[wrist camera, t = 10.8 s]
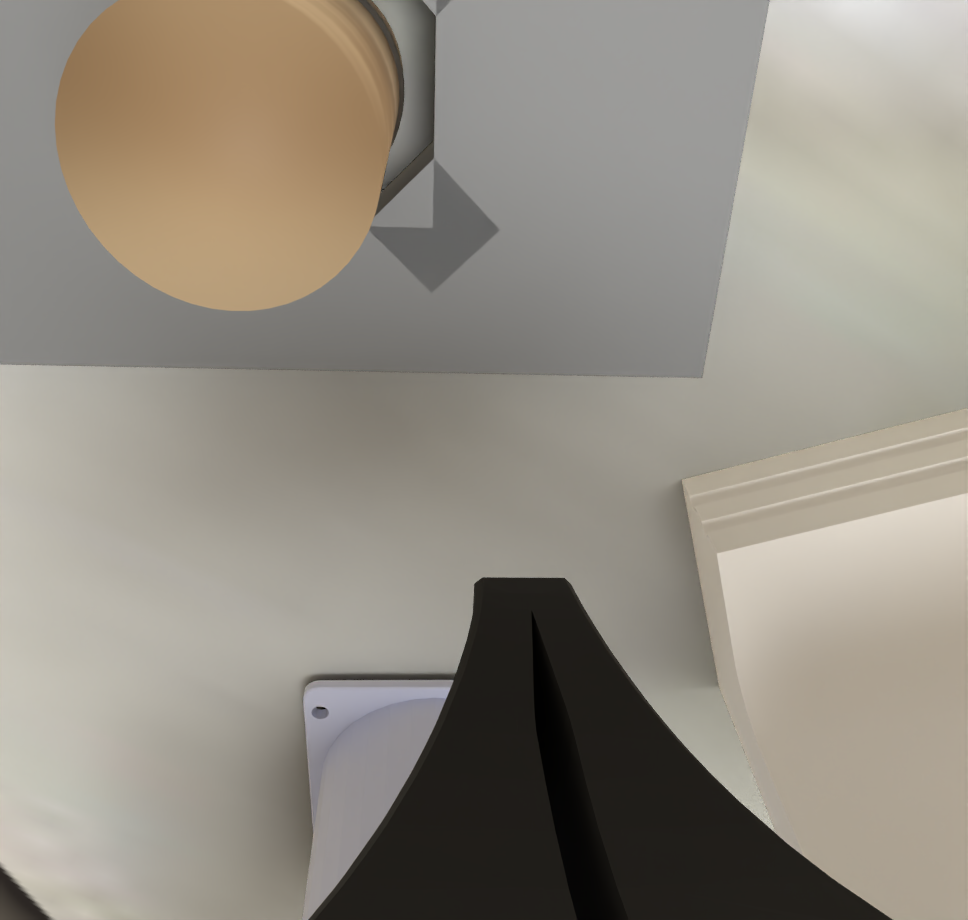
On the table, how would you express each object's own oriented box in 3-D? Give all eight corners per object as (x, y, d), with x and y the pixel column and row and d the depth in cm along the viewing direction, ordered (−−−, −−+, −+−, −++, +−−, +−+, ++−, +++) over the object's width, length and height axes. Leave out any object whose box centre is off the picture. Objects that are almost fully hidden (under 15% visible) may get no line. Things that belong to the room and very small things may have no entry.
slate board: (680, 345, 22) (702, 377, 21) (-61, 328, 21) (-104, 362, 20) (779, -257, 17) (819, -283, 15) (-238, -326, 15) (-323, -361, 14)
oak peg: (403, 182, 20) (384, 325, 12) (215, 168, 20) (73, 306, 12) (411, -27, 18) (394, -13, 10) (202, -47, 18) (21, -48, 10)
